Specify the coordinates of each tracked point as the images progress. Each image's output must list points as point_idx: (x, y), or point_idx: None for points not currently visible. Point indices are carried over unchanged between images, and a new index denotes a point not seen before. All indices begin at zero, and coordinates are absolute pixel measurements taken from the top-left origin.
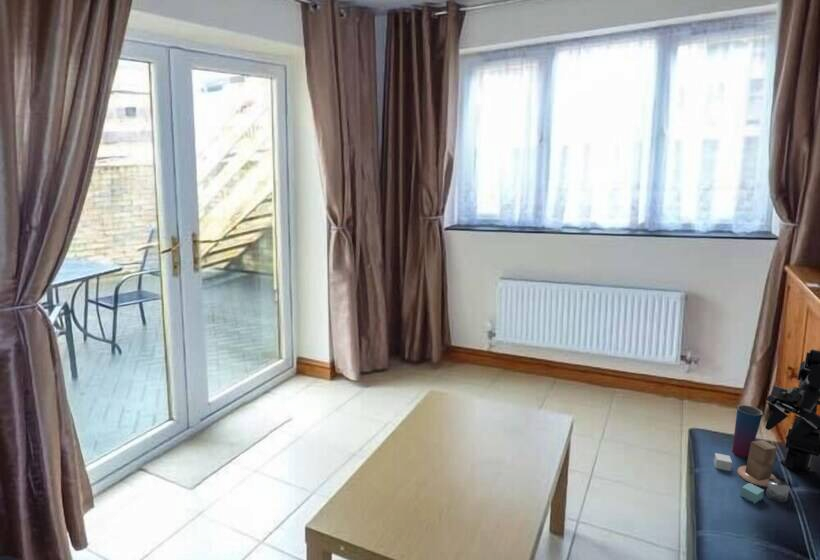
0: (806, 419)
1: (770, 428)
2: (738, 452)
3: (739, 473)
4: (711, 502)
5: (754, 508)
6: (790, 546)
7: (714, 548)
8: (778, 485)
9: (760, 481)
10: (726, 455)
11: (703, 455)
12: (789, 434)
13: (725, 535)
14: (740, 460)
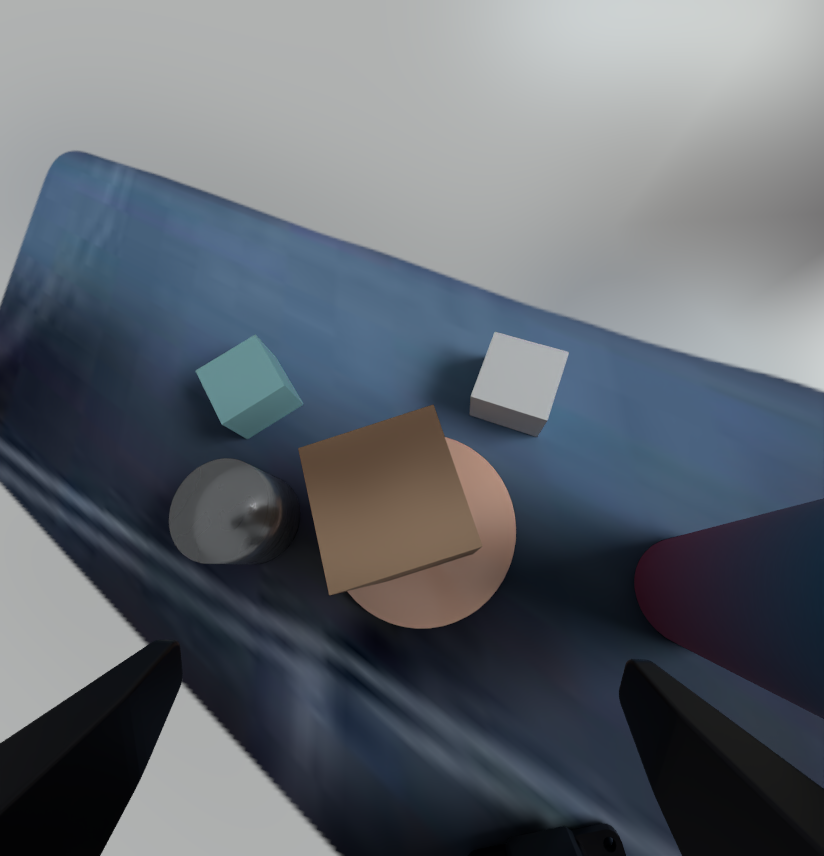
0: None
1: (637, 734)
2: (659, 546)
3: None
4: (249, 240)
5: None
6: (3, 377)
7: (63, 171)
8: (207, 496)
9: None
10: (548, 403)
11: (610, 351)
12: (76, 697)
13: (98, 216)
14: (591, 532)
